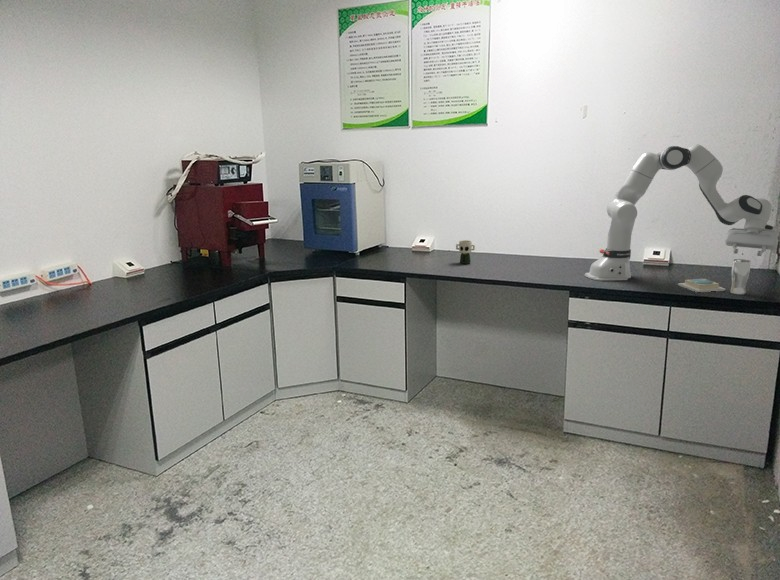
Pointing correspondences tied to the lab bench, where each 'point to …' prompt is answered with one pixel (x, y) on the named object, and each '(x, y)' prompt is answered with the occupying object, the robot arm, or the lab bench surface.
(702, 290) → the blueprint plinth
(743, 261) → the beer glass
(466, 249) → the character mug
